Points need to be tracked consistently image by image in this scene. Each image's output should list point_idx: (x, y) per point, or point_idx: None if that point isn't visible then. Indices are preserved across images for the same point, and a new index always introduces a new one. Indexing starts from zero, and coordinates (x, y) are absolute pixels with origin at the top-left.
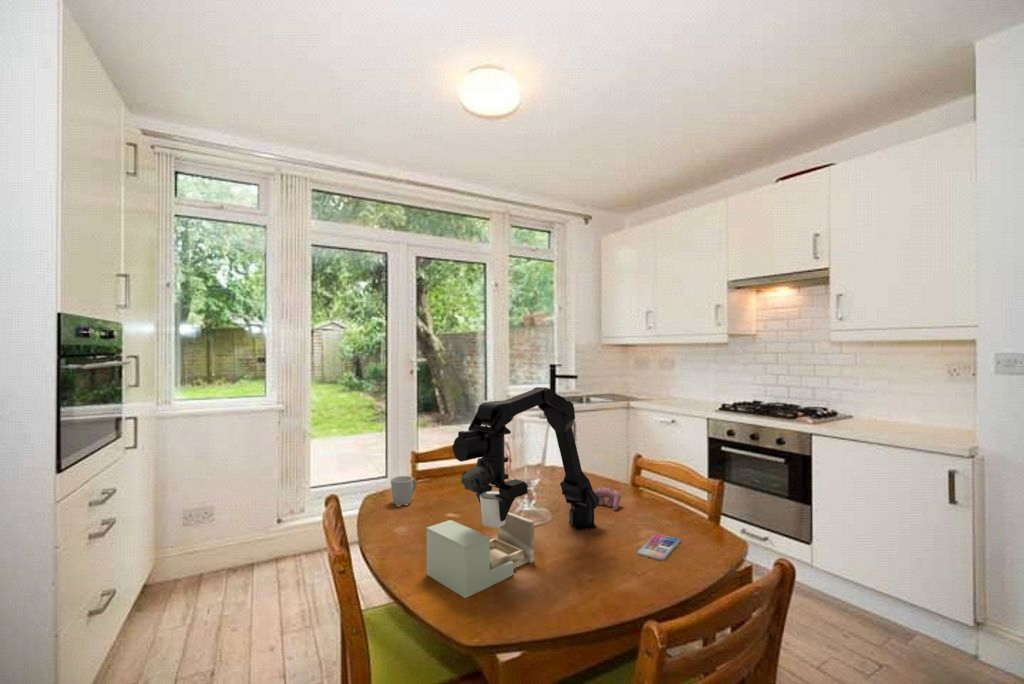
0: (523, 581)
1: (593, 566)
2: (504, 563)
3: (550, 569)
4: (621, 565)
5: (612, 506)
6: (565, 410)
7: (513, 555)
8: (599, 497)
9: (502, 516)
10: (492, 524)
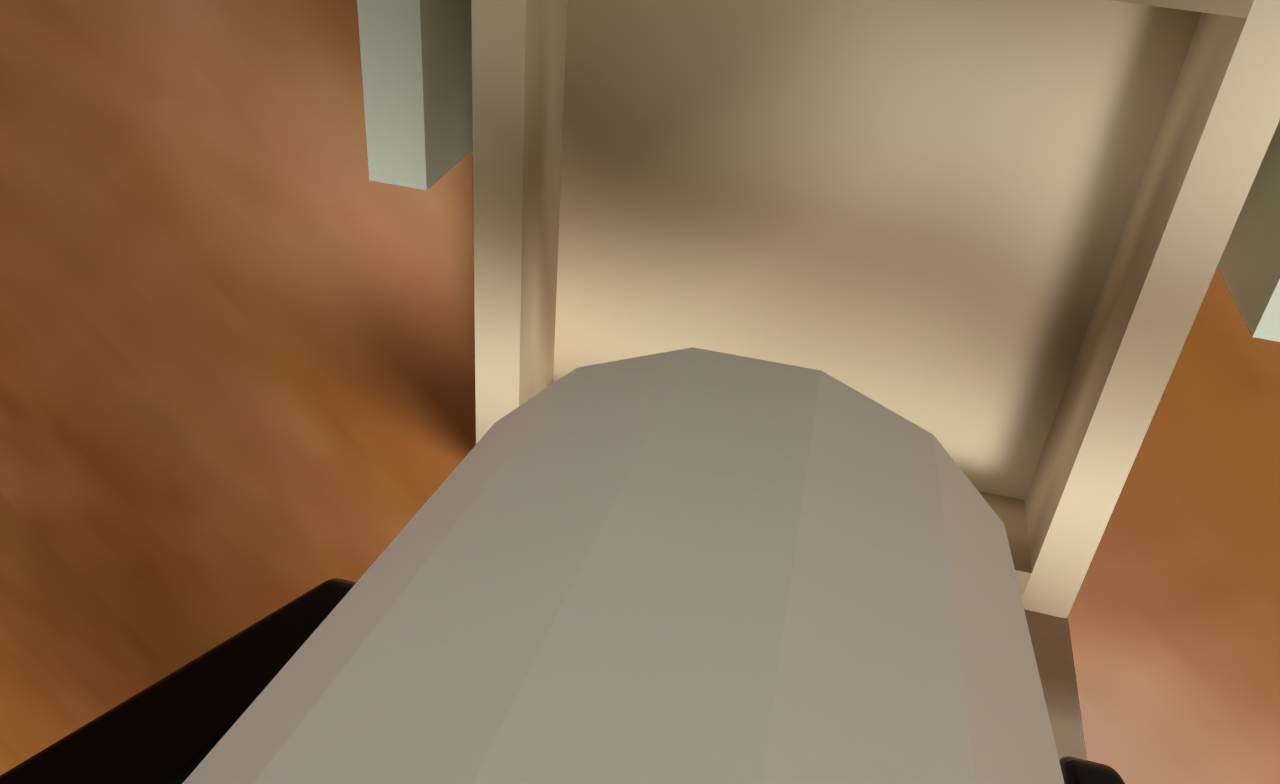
0: (260, 71)
1: (117, 625)
2: (420, 70)
3: (284, 433)
4: (26, 707)
5: None
6: None
7: (476, 315)
8: None
9: (210, 665)
10: (523, 421)
